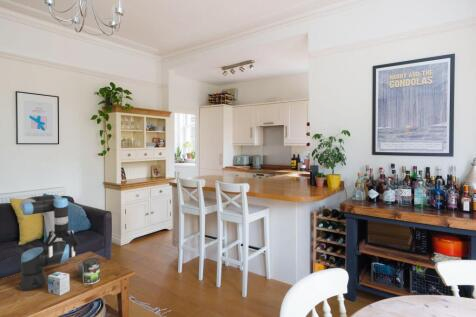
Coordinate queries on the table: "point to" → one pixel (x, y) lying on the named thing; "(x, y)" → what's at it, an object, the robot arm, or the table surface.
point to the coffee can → (91, 270)
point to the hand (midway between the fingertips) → (62, 256)
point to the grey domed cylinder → (80, 269)
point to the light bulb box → (58, 283)
